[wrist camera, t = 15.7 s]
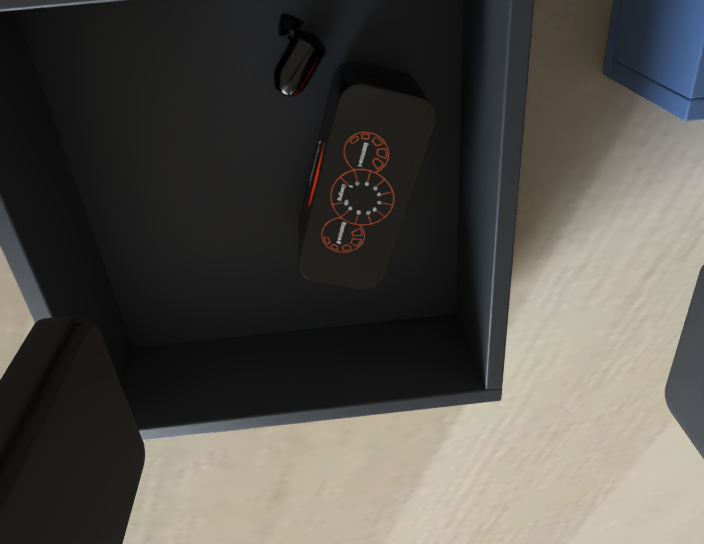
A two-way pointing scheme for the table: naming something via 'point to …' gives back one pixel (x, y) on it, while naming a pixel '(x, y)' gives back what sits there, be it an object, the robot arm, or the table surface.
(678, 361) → the robot arm
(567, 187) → the table surface
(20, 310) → the table surface
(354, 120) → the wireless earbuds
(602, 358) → the table surface
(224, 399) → the charcoal bin
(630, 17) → the blue bin
